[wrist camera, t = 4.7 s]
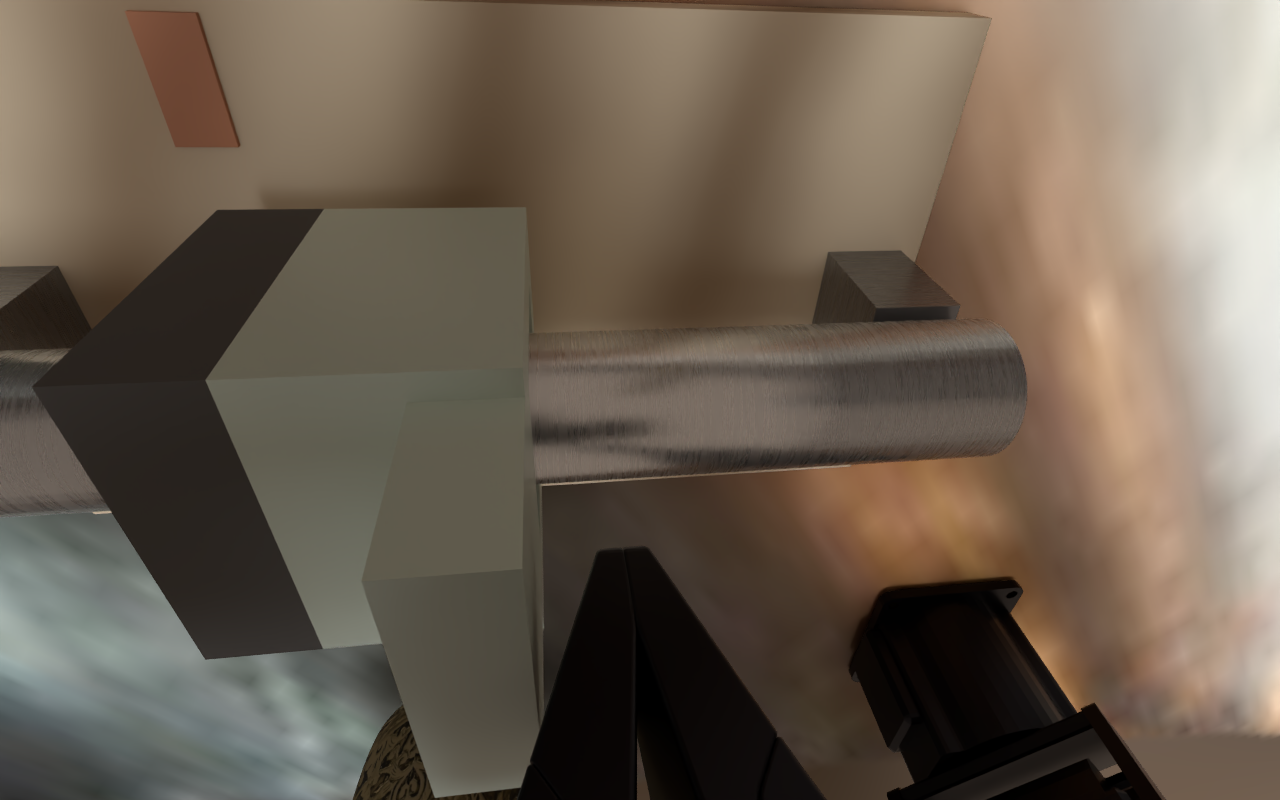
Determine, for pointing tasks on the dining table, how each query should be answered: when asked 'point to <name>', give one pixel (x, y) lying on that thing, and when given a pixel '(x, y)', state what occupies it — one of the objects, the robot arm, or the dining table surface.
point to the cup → (405, 769)
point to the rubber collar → (187, 433)
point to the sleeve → (407, 465)
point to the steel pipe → (646, 388)
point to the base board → (490, 138)
